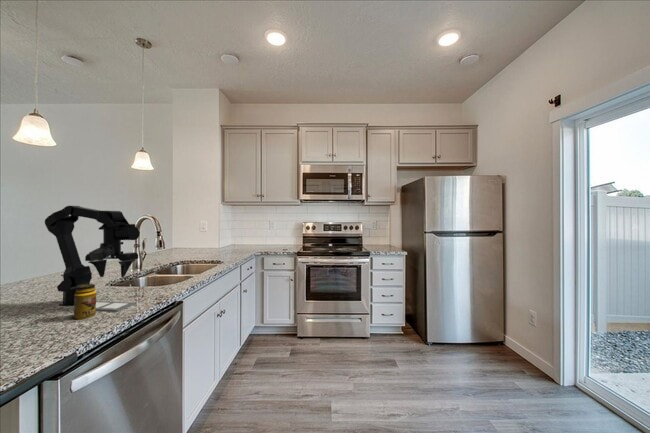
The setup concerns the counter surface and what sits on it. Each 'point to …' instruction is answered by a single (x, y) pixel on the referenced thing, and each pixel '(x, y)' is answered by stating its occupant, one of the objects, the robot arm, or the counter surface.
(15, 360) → the counter surface
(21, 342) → the counter surface
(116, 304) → the mat
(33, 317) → the counter surface
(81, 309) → the condiment
